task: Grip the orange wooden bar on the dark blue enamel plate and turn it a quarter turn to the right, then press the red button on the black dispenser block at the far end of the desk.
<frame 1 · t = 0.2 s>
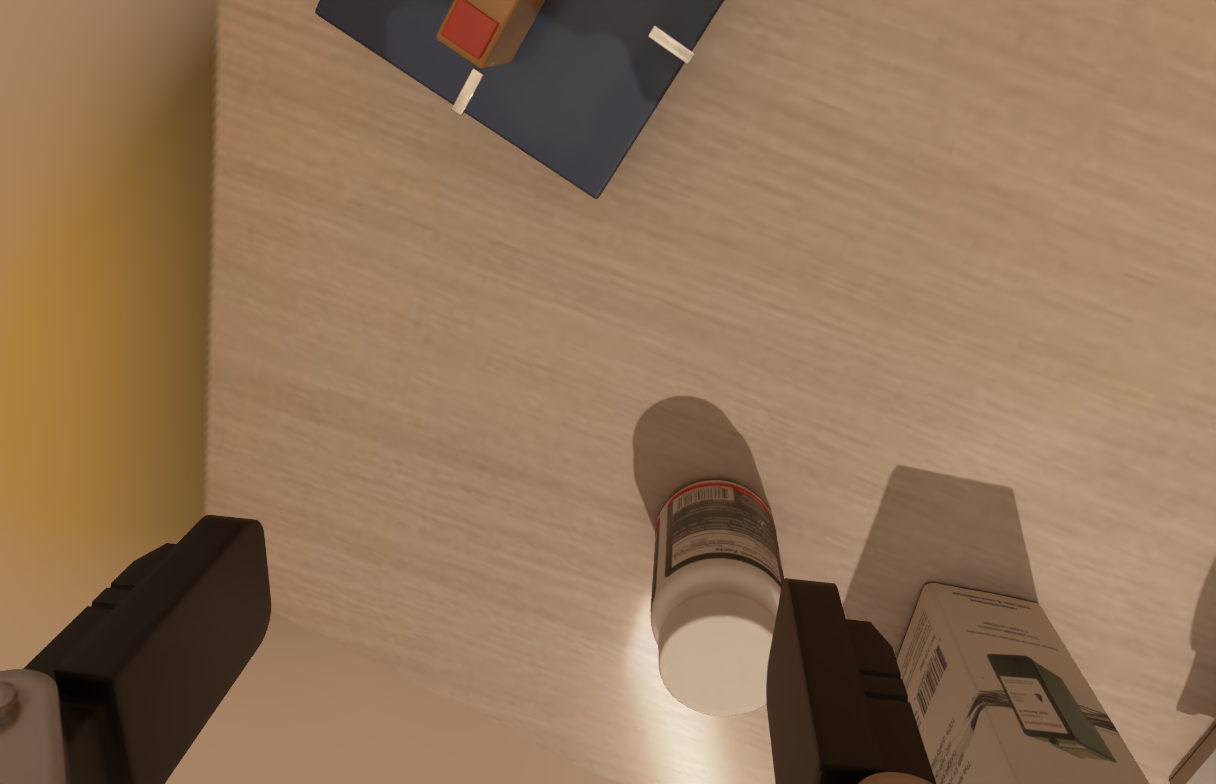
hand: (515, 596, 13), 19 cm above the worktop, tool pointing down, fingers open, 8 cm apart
ink box: (948, 668, 37), on the worktop
pill bottle: (714, 525, 35), on the worktop
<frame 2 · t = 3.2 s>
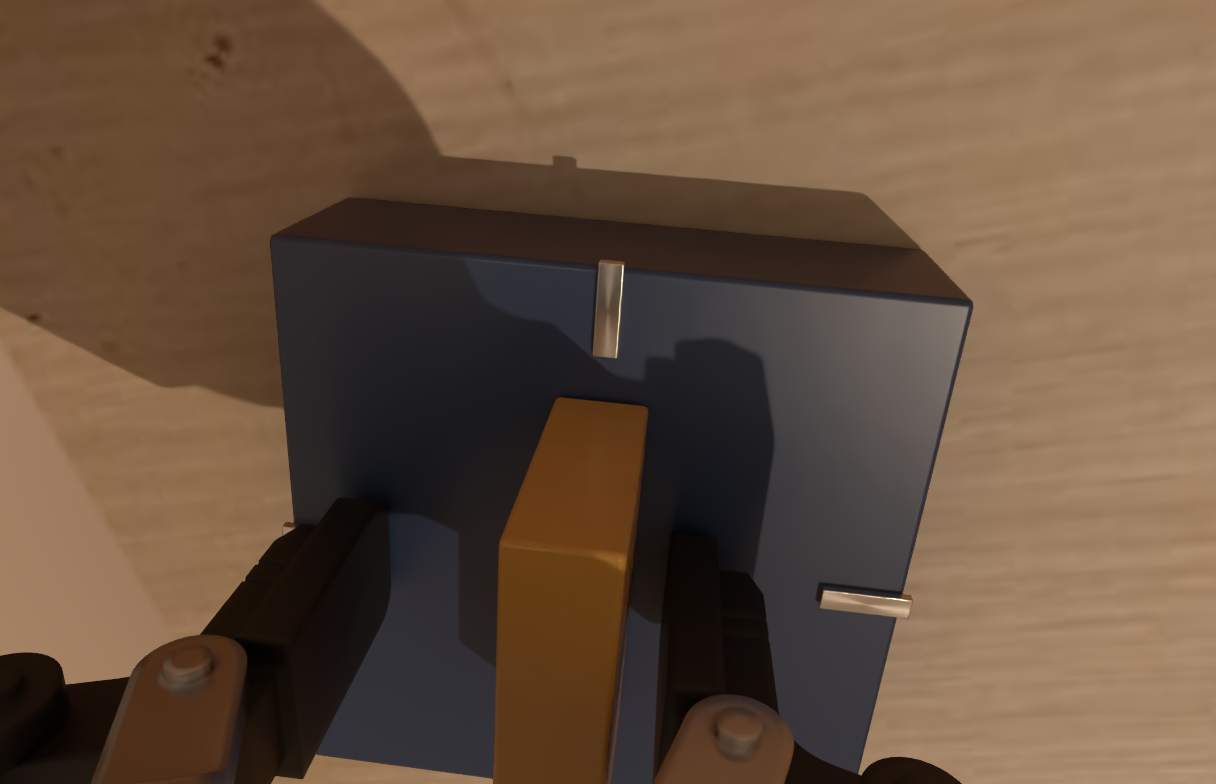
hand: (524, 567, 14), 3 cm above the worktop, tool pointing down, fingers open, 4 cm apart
orange wooden bar: (571, 655, 12), point 5 cm above the worktop, hinge at 0.0°
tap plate: (608, 477, 17), on the worktop
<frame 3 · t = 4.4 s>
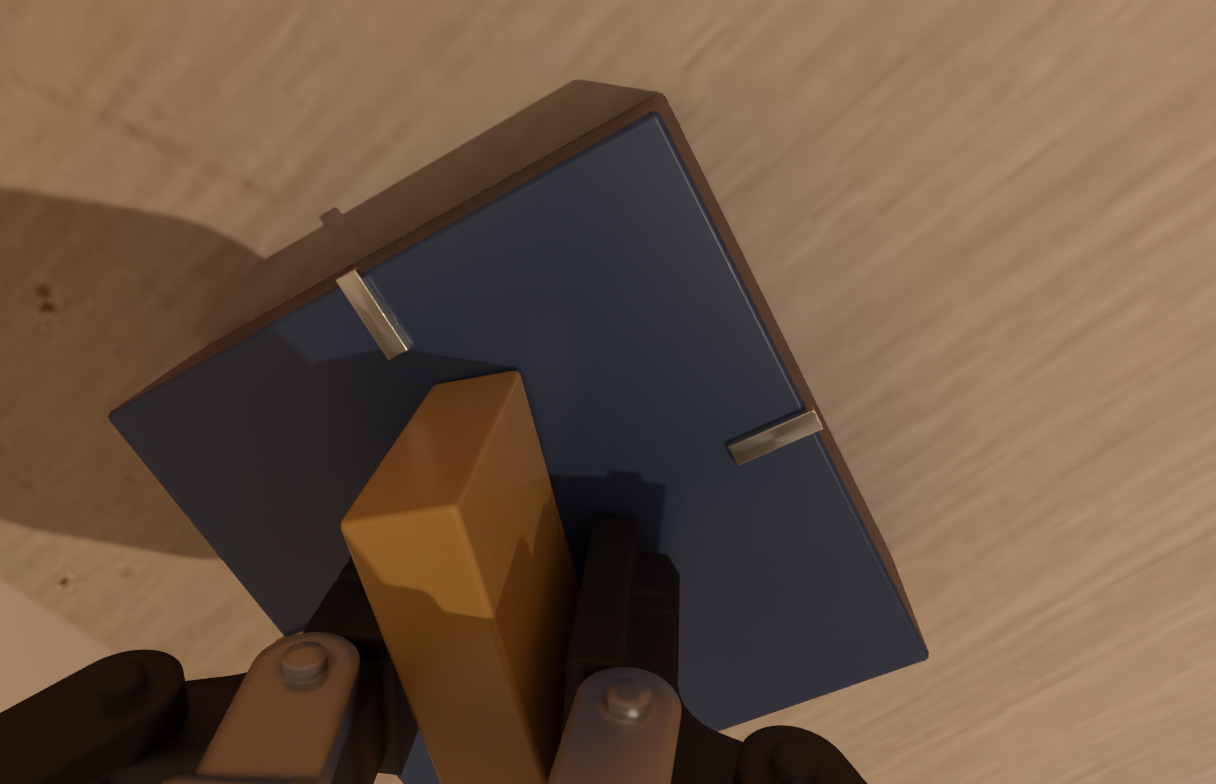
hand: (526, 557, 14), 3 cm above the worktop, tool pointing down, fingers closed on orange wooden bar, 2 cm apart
orange wooden bar: (500, 625, 12), point 5 cm above the worktop, hinge at -16.2°, touching gripper
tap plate: (551, 456, 17), on the worktop
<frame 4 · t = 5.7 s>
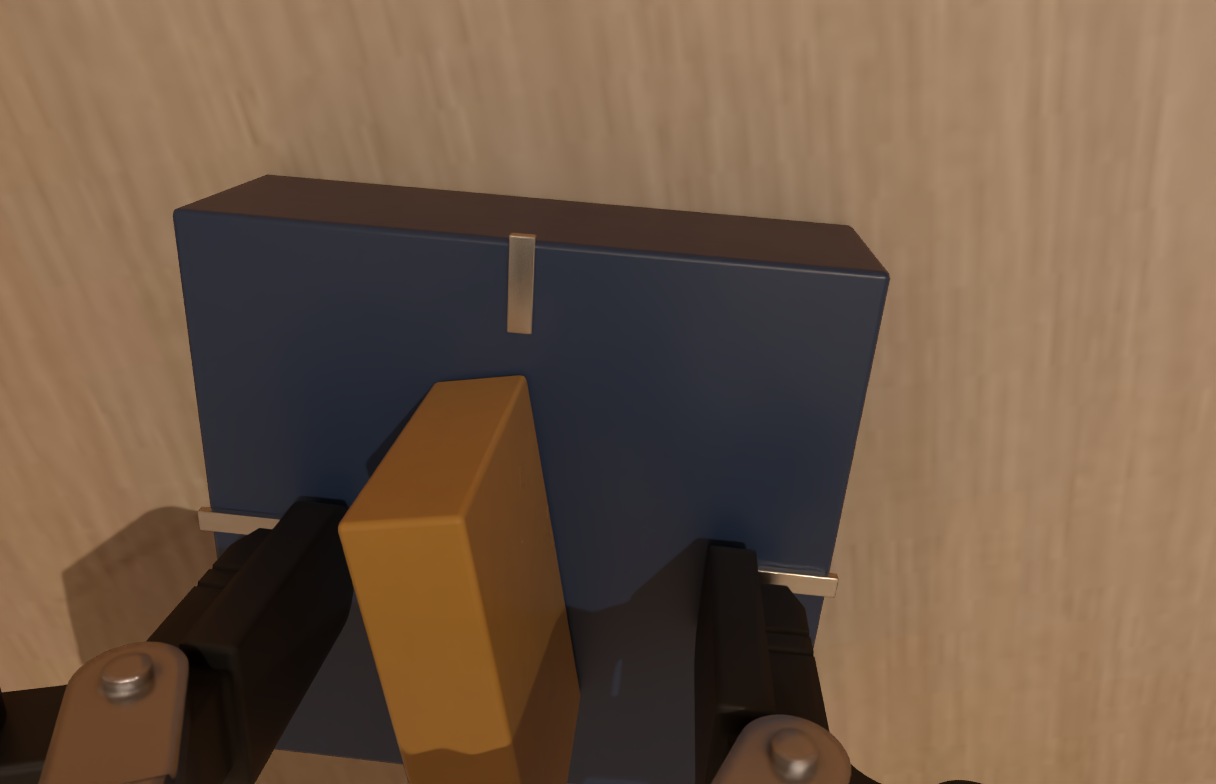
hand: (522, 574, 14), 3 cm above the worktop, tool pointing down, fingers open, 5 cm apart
orange wooden bar: (485, 637, 12), point 5 cm above the worktop, hinge at -78.9°
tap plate: (542, 460, 17), on the worktop
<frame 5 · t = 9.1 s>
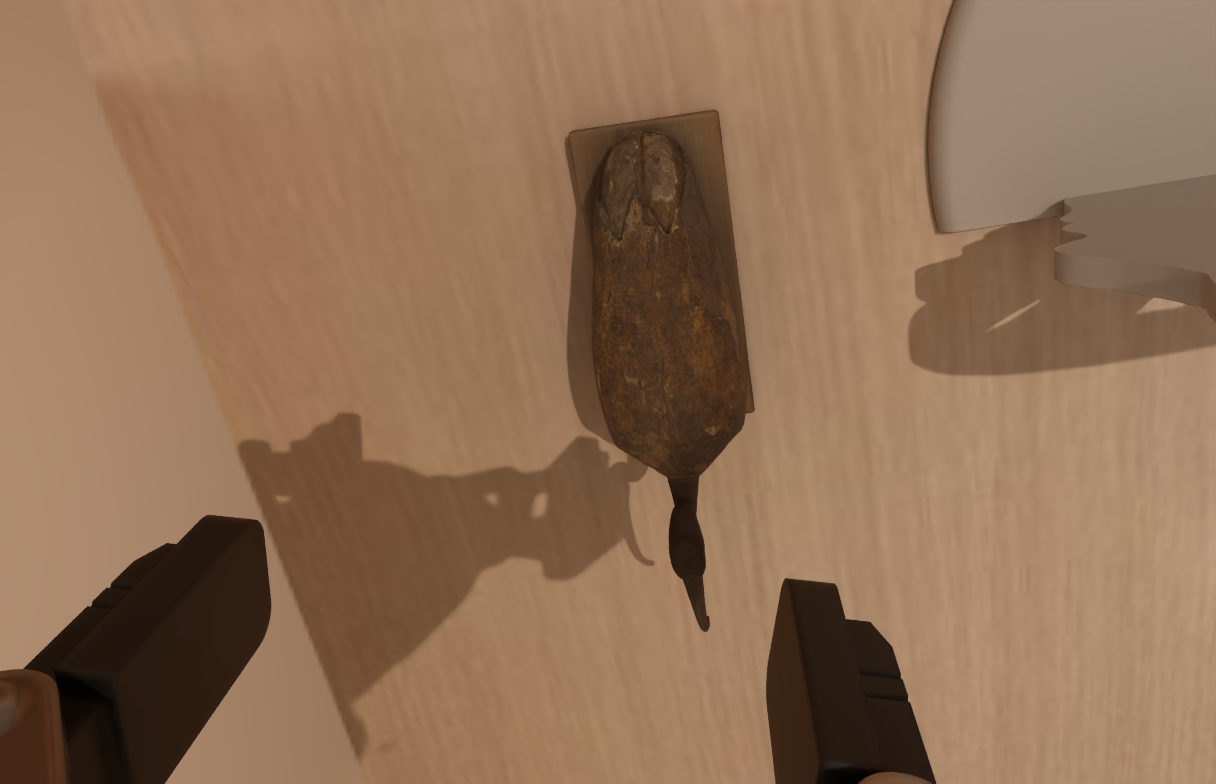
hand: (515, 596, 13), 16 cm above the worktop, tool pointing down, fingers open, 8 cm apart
figurine: (676, 333, 29), on the worktop
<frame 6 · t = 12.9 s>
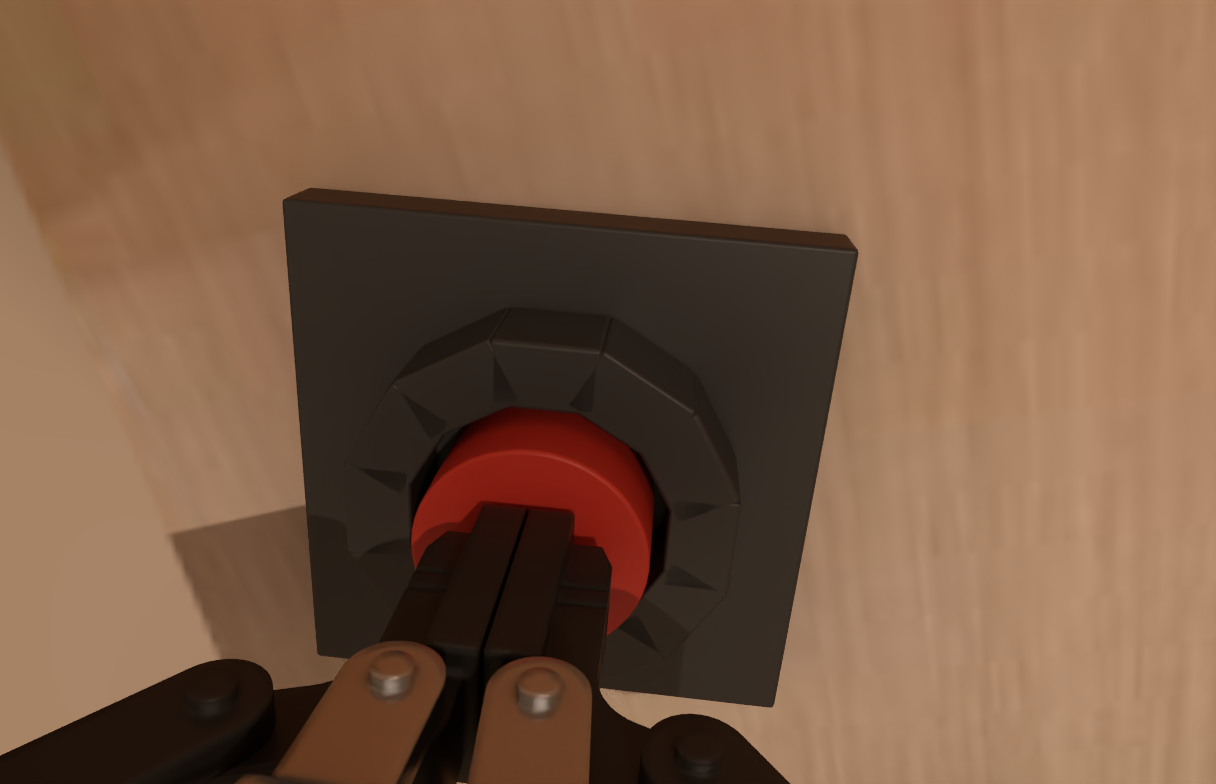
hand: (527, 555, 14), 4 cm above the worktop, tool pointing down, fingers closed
button: (538, 526, 15), point 3 cm above the worktop, slide at -0.6 cm, touching gripper
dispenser: (560, 452, 18), on the worktop
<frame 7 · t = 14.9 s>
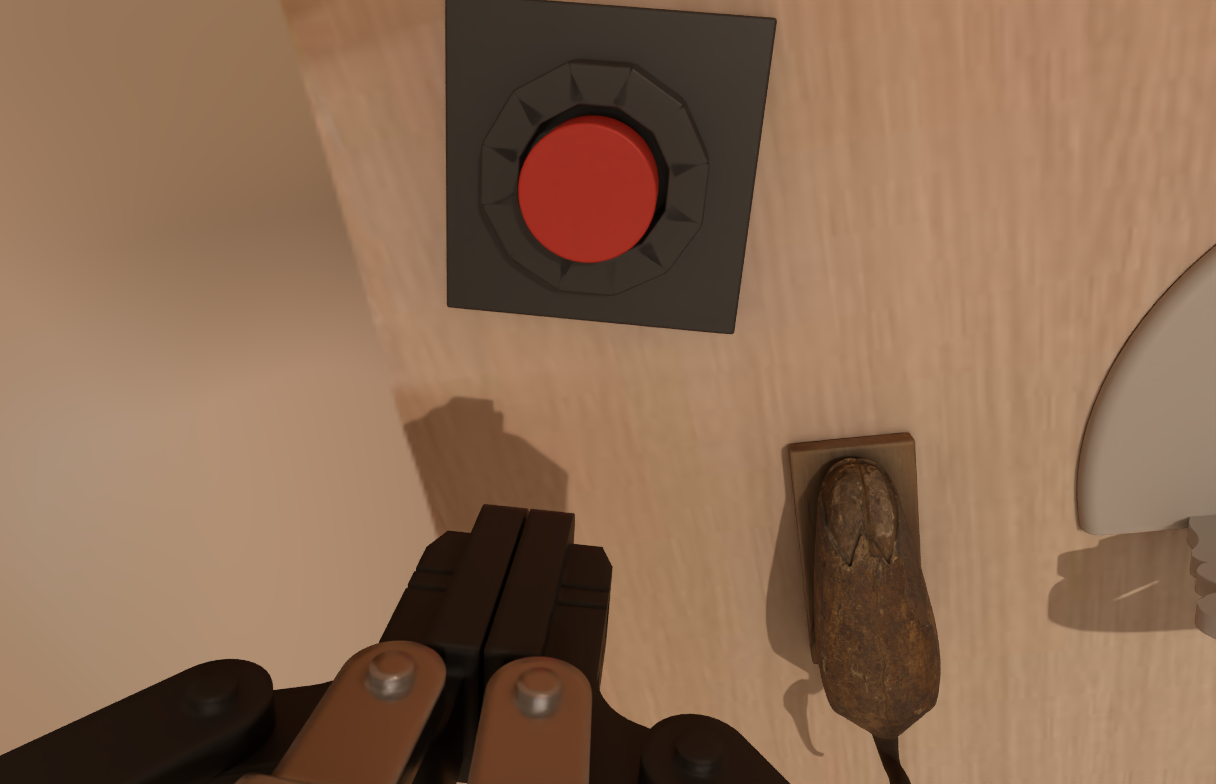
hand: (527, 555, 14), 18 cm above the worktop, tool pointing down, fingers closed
button: (590, 188, 26), point 4 cm above the worktop, slide at 0.1 cm
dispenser: (601, 168, 29), on the worktop
figurine: (859, 587, 35), on the worktop
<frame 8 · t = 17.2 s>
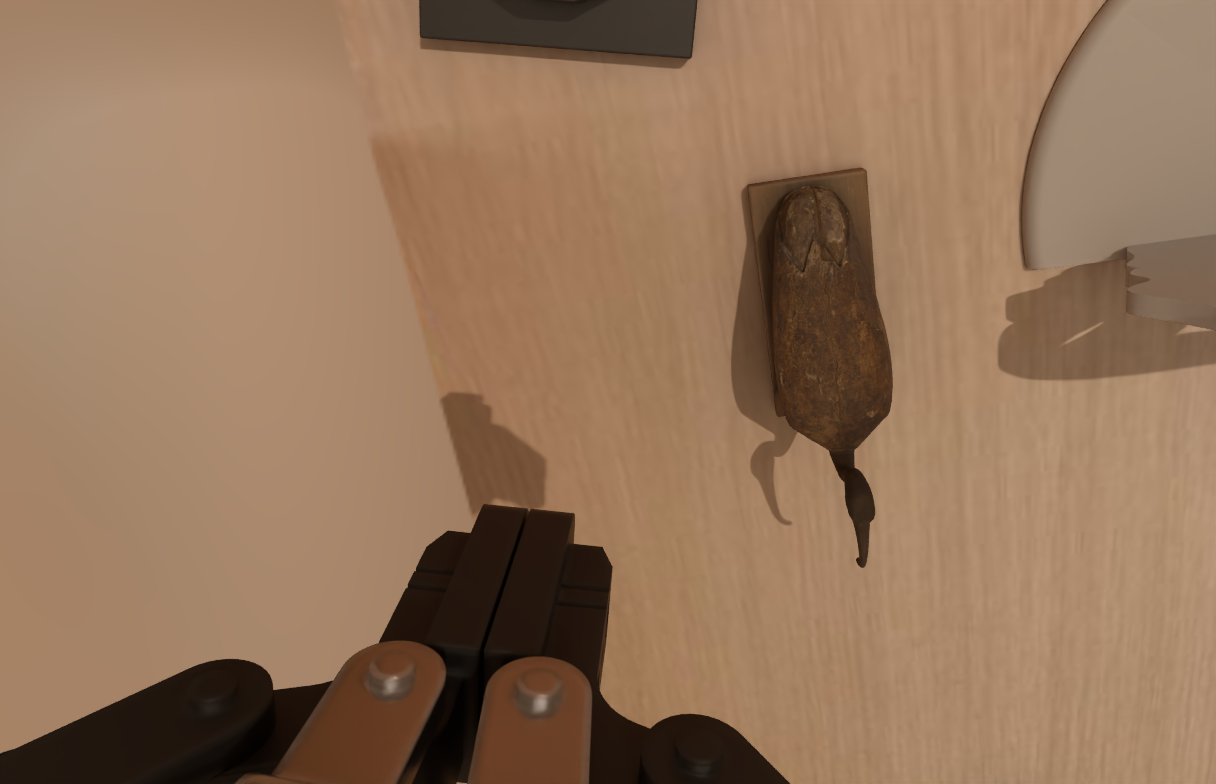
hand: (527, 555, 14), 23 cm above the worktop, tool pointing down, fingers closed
figurine: (820, 339, 37), on the worktop
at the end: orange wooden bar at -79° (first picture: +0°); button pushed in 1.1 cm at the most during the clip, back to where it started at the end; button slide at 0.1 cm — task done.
